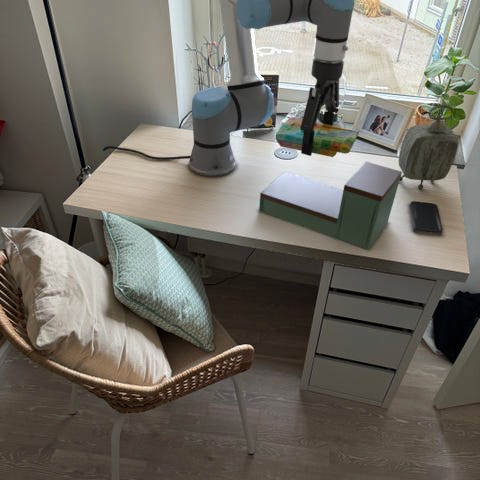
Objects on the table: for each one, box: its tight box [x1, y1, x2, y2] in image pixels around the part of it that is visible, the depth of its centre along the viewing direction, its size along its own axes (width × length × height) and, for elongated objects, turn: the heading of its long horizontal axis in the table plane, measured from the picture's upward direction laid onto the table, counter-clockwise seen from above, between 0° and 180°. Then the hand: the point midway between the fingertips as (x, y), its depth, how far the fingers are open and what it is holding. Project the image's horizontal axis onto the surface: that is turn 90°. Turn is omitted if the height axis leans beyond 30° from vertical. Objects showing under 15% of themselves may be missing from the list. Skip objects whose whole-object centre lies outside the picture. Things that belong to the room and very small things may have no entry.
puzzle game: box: [274, 116, 360, 158], centre depth 126 cm, size 12×5×20 cm
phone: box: [409, 200, 444, 236], centre depth 135 cm, size 8×1×15 cm
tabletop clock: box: [398, 104, 460, 190], centre depth 140 cm, size 14×9×25 cm, turn 91°
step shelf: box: [258, 161, 403, 250], centre depth 130 cm, size 34×15×16 cm, turn 58°
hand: (316, 144), depth 127 cm, fingers closed on puzzle game, 12 cm apart
